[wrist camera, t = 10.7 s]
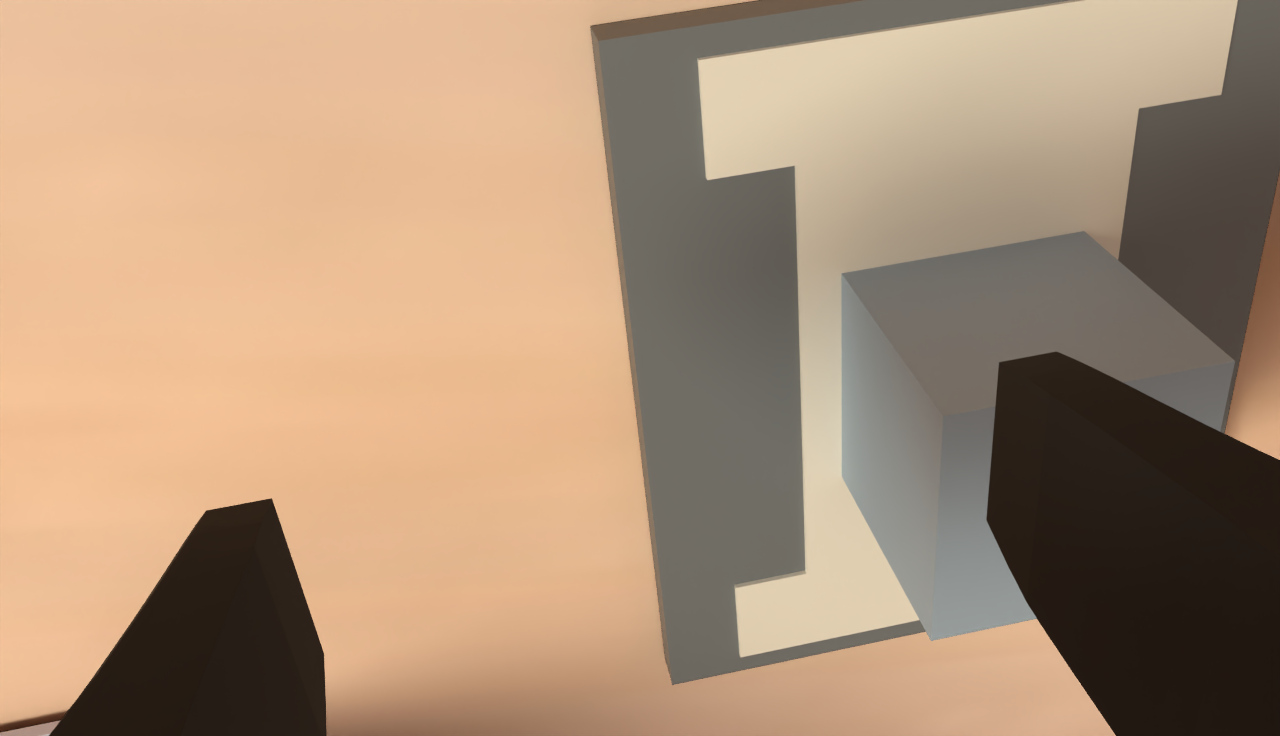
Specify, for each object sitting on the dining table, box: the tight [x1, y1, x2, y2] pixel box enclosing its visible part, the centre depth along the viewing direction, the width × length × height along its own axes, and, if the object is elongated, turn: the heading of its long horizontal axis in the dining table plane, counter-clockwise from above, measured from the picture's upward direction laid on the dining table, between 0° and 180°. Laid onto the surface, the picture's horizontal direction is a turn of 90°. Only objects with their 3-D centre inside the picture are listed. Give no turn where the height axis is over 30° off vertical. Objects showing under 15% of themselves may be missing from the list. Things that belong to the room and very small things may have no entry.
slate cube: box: [841, 231, 1235, 641], centre depth 20 cm, size 4×4×4 cm
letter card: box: [590, 0, 1280, 685], centre depth 23 cm, size 12×14×1 cm
